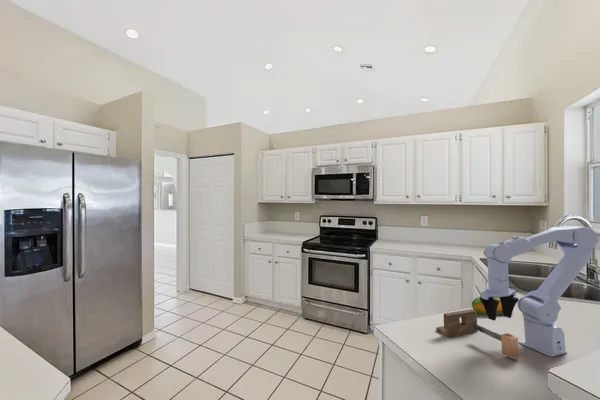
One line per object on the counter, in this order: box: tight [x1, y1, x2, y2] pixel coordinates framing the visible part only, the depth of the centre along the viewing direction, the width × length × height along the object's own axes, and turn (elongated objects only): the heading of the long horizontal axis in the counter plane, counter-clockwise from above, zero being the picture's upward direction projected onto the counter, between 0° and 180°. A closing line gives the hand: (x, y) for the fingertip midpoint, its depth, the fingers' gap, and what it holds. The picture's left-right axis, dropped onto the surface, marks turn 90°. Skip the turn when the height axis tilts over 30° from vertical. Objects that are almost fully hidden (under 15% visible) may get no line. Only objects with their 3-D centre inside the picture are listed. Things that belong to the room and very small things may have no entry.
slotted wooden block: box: [435, 308, 479, 339], centre depth 100 cm, size 6×14×8 cm, turn 106°
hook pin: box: [474, 323, 520, 360], centre depth 86 cm, size 13×3×6 cm, turn 16°
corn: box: [471, 297, 516, 315], centre depth 116 cm, size 7×8×20 cm
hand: (499, 318), depth 89 cm, fingers open, 7 cm apart
